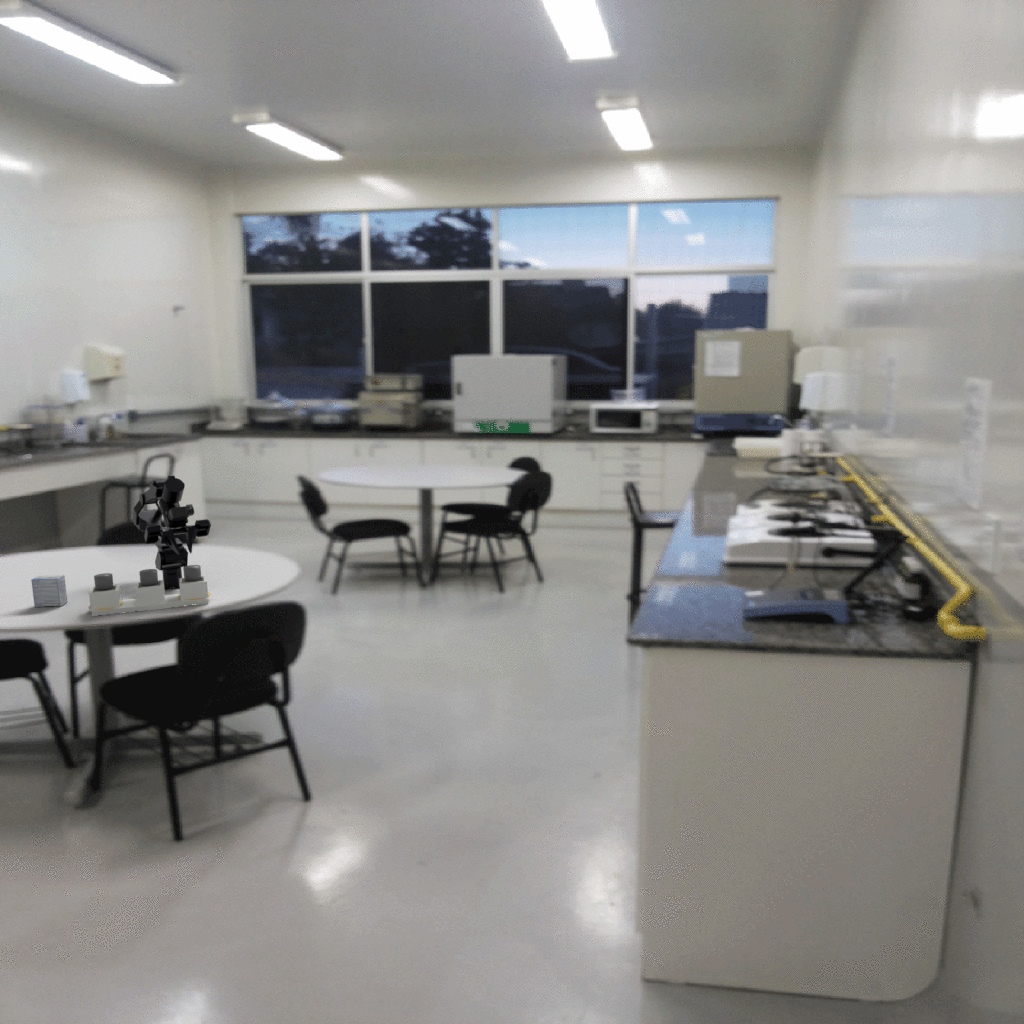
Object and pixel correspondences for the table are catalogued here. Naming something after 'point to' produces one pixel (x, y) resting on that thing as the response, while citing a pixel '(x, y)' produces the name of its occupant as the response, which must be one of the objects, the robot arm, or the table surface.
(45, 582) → the medicine box
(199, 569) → the button
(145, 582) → the button
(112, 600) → the button board
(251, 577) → the table surface
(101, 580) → the button
